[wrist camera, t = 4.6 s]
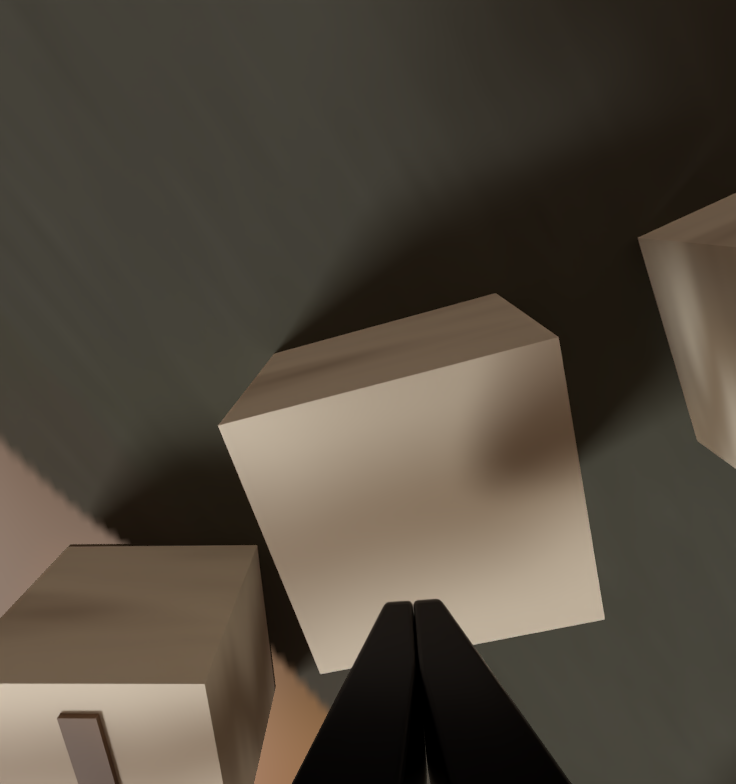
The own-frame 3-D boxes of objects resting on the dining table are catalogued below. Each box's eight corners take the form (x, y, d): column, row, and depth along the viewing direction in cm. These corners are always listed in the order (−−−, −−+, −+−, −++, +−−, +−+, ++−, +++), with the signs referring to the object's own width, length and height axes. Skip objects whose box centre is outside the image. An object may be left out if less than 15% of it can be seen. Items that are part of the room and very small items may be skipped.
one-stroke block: (275, 686, 18) (235, 863, 13) (108, 686, 18) (7, 860, 13) (258, 542, 16) (202, 689, 11) (70, 544, 16) (-67, 688, 11)
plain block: (534, 490, 15) (604, 619, 10) (339, 534, 16) (320, 674, 11) (494, 292, 13) (559, 336, 8) (275, 352, 14) (217, 425, 9)
